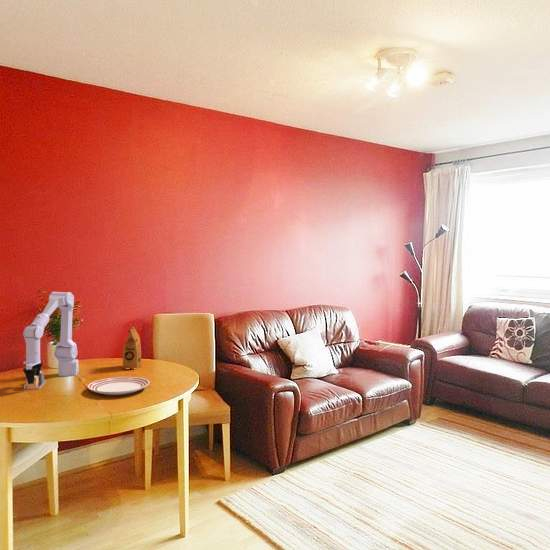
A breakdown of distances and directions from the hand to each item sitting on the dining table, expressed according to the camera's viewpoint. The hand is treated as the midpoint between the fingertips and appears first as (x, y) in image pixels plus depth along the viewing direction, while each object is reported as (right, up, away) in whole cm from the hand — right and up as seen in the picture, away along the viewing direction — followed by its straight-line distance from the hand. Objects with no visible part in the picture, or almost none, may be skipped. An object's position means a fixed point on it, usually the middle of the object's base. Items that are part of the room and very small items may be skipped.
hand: (33, 381), depth 216 cm
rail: (-1, -4, +4) cm, 5 cm away
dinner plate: (+38, -5, +4) cm, 39 cm away
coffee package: (+31, -3, +47) cm, 56 cm away
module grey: (-2, -3, +8) cm, 9 cm away
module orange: (0, -3, 0) cm, 3 cm away
